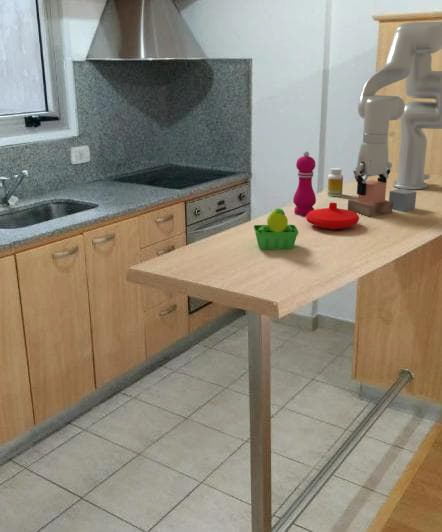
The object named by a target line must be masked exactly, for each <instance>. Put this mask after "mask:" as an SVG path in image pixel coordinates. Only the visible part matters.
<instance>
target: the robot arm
mask: <svg viewBox="0 0 442 532" xmlns="http://www.w3.org/2000/svg"><path fill="white" fill-rule="evenodd" d="M440 50H442V21H411V22H405V23H402V24H399V26H398V27H397V28H396V31H395V32H394V35H393V37H392V40H391V43H390V47H389V50H388V54H387V57H386V59H385V63H384V66H383V67H381V68H379V69H378V70H377V71H375V73H374V74H372V75H371V77H369V78H368V80H366V82H365V84H364V86H363V88H362V90H361V94H360V97H359V100H358V106H357V113H358V115H359V117H361V119H363V136H362V143H361V144H360V147H359V151H358V157H357V165H356V167H355V168H354V169H353V172H352V173H353V175H354V179H355V181H356V182H357V185H356V186H357V187H356V195H363V196H365V195H366V185H367V183H365V182H366V181H368V178H369V177H374V176H378V177H377V181H379V182H384V183H386V184H387V180H388V178H389V174H390V173H391V169H392V167H393V163H391V162H390V161H389V144H388V143H389V142H388V138H389V128H390V121H397V120H399V119H400V129H401V130H400V142H399V143H400V145H399V156H398V158H399V159H398V165H397V166H398V167H397V179H396V181H393V182H392V186H393V187H395V188H397V189H406V190H423V189H426V188H427V187H428V183H426V182H425V180H428V179H430V177H431V176H430V174H429V173H425V164H426V156H427V155H426V154H427V147H428V145H427V144H428V140H427V136H426V134H425V133H424V131H423V129H428V130H429V129H431V130H442V70H432V57H433V56H432V54H434V53H438V51H440ZM404 79H405V93H406V95H407V96H408V97H409V98H411V99H412V98H413V99H423V100H424V99H426V100H427V99H429V100H431V99H432V100H435V101H436V102H435V101H420V100H419V101H417V100H416V101H415V100H414V101H408V102H406V103H405V101H404V99H403V98H401V97H399V96H396V95H378V94H377V95H376V93H377V92H378V91H380V90H382V89H383V88H385V87H386V86H389V85H392V84H395V83H397V82H400V81H402V80H404Z"/></svg>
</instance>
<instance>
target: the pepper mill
mask: <svg viewBox="0 0 442 532" xmlns="http://www.w3.org/2000/svg"><path fill="white" fill-rule="evenodd" d="M295 164H296V169H297V170H298V171H297V177H298V186H297V189H296V191H295V193H294V194H293V199H292V201H293V204H294V205H295V207H294V214H295V215H297V216H301V217H302V216H305V217H306V215H307V214H308V213H309V212H310V211H312V210H315V208H314V206H315V204H316V201H317V197H316V193H315V190H314V188H313V185H312V184H313V183H312V182H313V177H314V170H315V168H316V160H315V159H314V158H313V157H312V156H310V153H309V151H304V152H303V156H301V157H299V158H298V159H297V160H296V163H295Z"/></svg>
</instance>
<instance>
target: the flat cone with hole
mask: <svg viewBox="0 0 442 532" xmlns="http://www.w3.org/2000/svg"><path fill="white" fill-rule="evenodd" d="M337 206H338V203H337V202H329V205H328V207H325V208H323V207H322V208H317V209H314V210H312V211H310V212H309V213H308V214H307V215H306V216H305V218H306V222H308V223H309V224H311V225H313V226H315V227H317V228H319V229H325V230H343V229H347V228H350V227H352V226H355V225H357V224H358V223H359V220H360V215H359V214H357V213H355V212H352V211H349V210H348V209H344V208H343V209H342V208H338V207H337Z"/></svg>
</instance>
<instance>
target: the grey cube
mask: <svg viewBox="0 0 442 532" xmlns="http://www.w3.org/2000/svg"><path fill="white" fill-rule="evenodd" d="M388 198H389V199H388V201H390V202H393V210H392V211H396V210H397V212H401V213H405V212H409V211H414V210H416V200H417V191H415V190H412V189H401V188H397V189H394V190H390V191H389V196H388Z"/></svg>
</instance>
